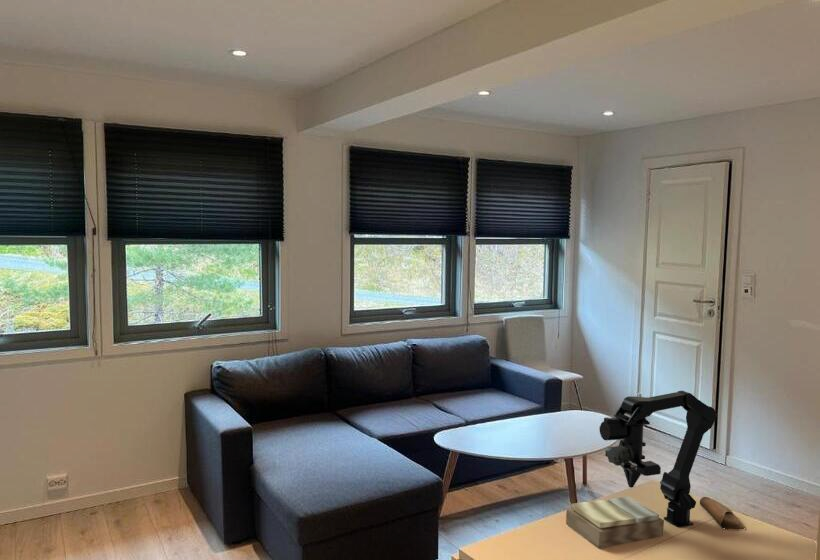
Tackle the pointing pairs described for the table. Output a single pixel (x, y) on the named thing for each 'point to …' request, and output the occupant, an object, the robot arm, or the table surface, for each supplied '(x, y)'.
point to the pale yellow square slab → (603, 513)
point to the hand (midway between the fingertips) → (630, 487)
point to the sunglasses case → (721, 514)
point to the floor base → (643, 529)
